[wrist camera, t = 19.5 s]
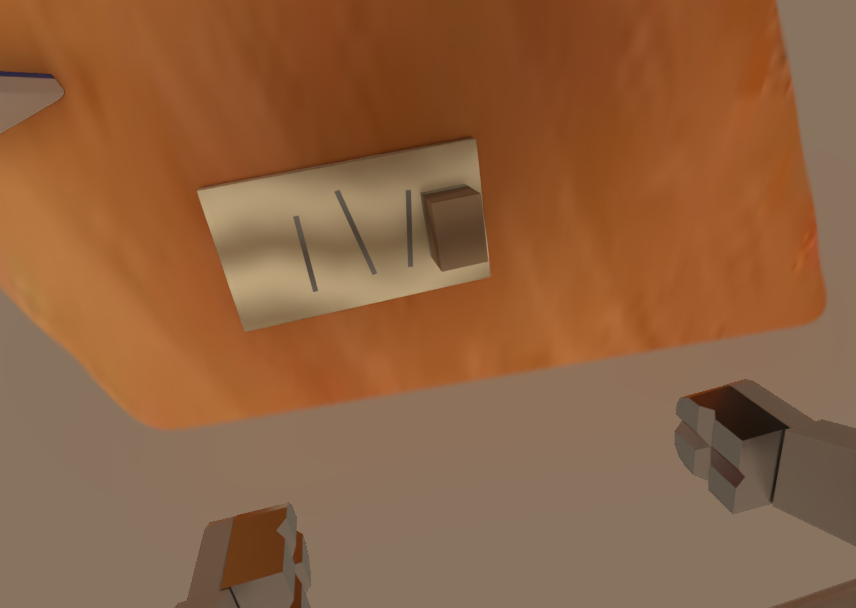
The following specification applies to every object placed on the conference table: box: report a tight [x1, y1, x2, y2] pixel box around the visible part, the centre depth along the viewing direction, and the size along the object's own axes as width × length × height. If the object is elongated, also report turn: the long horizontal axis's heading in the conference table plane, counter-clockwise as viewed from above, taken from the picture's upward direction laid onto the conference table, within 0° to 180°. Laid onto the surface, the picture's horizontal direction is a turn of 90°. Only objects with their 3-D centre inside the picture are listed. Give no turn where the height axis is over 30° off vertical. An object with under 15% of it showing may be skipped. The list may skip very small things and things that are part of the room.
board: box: [197, 137, 491, 332], centre depth 39 cm, size 11×20×1 cm, turn 99°
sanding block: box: [420, 184, 488, 272], centre depth 38 cm, size 5×4×4 cm
